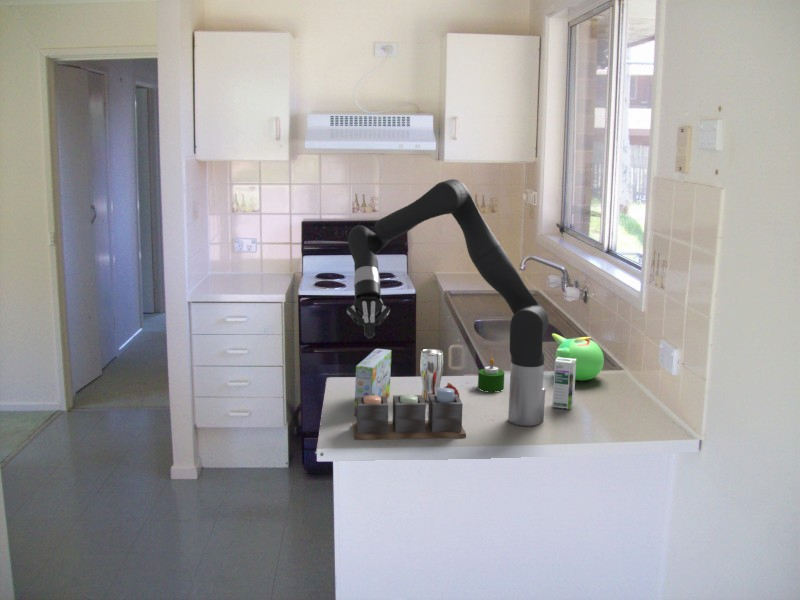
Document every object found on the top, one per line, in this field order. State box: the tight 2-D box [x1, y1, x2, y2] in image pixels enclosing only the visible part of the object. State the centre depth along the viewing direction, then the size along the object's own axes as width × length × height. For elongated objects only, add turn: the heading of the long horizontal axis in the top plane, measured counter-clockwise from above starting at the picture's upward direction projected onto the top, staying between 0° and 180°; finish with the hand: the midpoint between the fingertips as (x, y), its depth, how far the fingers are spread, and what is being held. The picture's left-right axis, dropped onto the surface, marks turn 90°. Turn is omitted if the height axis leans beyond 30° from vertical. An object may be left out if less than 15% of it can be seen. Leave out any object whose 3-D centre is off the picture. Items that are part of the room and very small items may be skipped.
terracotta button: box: [363, 395, 381, 404], centre depth 228 cm, size 5×5×4 cm
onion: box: [443, 382, 460, 398], centre depth 249 cm, size 6×6×8 cm
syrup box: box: [551, 357, 576, 410], centre depth 253 cm, size 6×6×14 cm
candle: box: [477, 358, 505, 393], centre depth 268 cm, size 8×8×10 cm
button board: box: [352, 394, 467, 441], centre depth 229 cm, size 30×11×9 cm, turn 96°
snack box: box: [354, 348, 392, 416], centre depth 249 cm, size 21×6×15 cm, turn 166°
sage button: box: [400, 394, 418, 403], centre depth 229 cm, size 5×5×4 cm
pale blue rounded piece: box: [437, 387, 454, 403], centre depth 229 cm, size 5×5×4 cm
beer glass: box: [419, 348, 444, 403], centre depth 256 cm, size 7×7×15 cm
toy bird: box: [551, 333, 605, 382], centre depth 280 cm, size 18×17×15 cm
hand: (369, 336), depth 235 cm, fingers closed
